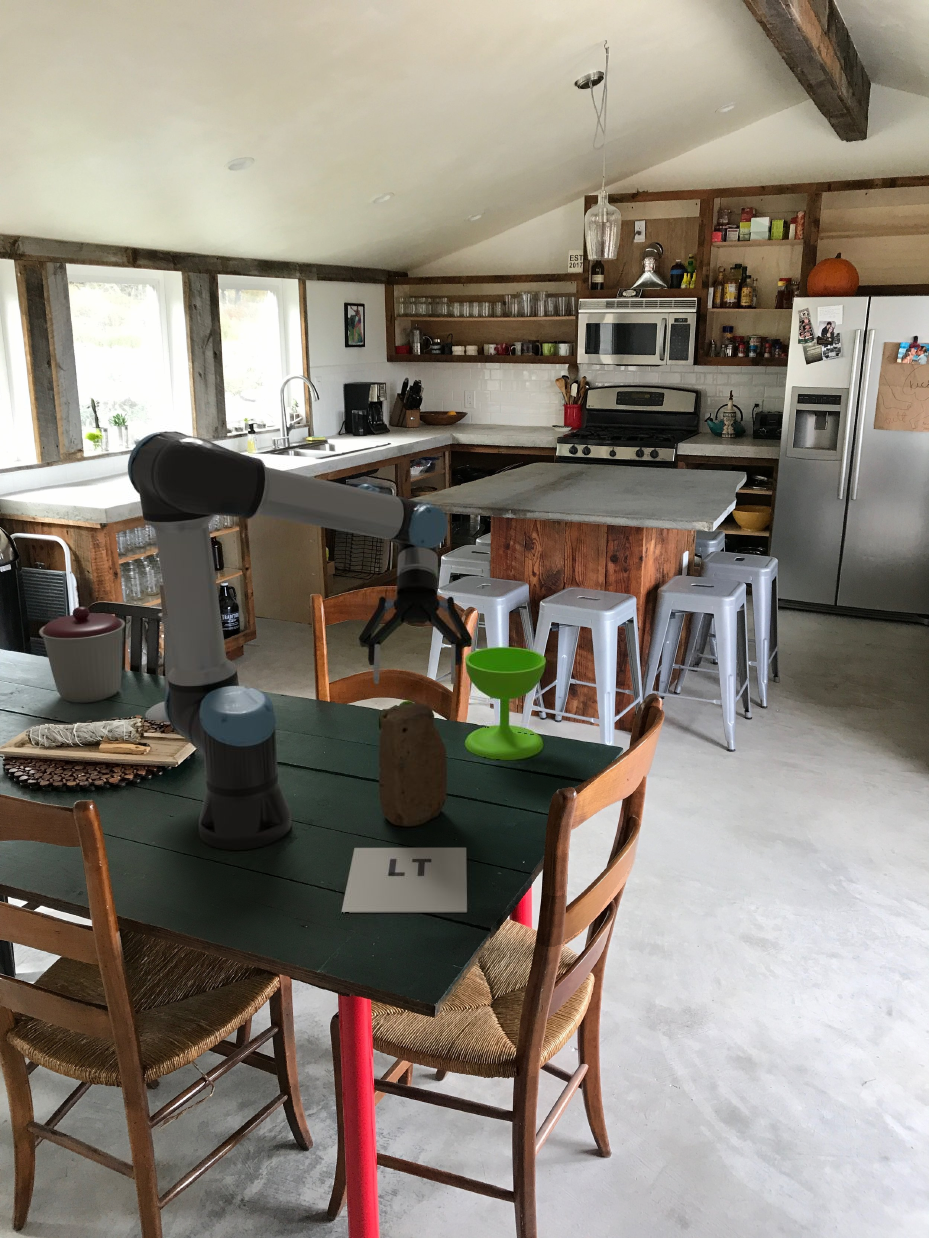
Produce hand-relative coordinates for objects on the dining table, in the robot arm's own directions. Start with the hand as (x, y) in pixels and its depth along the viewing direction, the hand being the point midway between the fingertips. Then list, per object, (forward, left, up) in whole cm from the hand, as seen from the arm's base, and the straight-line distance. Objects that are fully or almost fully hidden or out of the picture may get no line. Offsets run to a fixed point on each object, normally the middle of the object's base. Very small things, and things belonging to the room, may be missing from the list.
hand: (414, 680), depth 171 cm
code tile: (0, -30, -21) cm, 37 cm away
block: (0, -10, -21) cm, 24 cm away
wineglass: (+17, +21, -21) cm, 34 cm away
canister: (-77, +49, -21) cm, 94 cm away
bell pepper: (-4, +19, -21) cm, 29 cm away
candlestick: (-54, +37, -21) cm, 69 cm away
